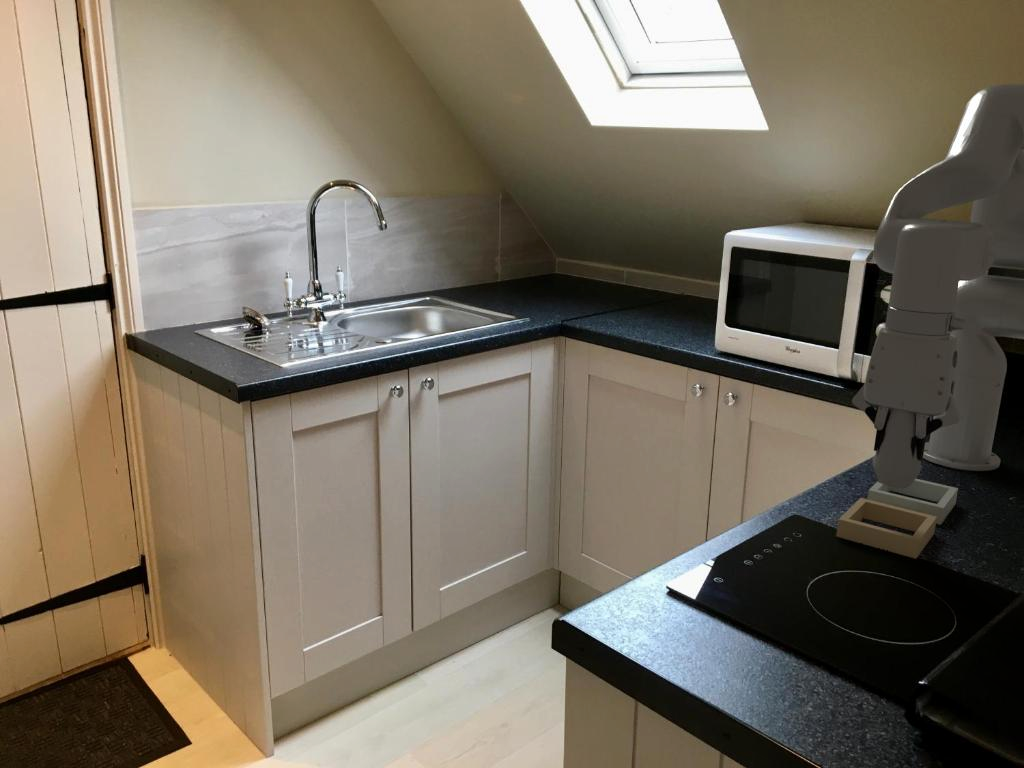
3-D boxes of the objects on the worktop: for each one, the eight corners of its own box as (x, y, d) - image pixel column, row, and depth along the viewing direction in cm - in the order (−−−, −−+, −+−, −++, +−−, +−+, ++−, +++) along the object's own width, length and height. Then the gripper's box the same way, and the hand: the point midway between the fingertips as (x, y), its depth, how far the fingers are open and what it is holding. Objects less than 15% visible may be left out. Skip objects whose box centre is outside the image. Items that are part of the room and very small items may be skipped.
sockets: (884, 487, 132) (887, 472, 132) (955, 504, 127) (958, 488, 126) (836, 536, 114) (838, 519, 113) (916, 558, 108) (919, 540, 107)
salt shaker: (904, 475, 116) (919, 382, 112) (926, 490, 110) (942, 393, 107) (862, 474, 115) (876, 381, 112) (882, 490, 110) (897, 392, 107)
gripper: (996, 328, 106) (971, 468, 110) (860, 311, 115) (842, 441, 120) (985, 336, 100) (959, 483, 104) (843, 317, 109) (824, 453, 114)
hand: (897, 459), depth 112 cm, fingers closed on salt shaker, 3 cm apart
